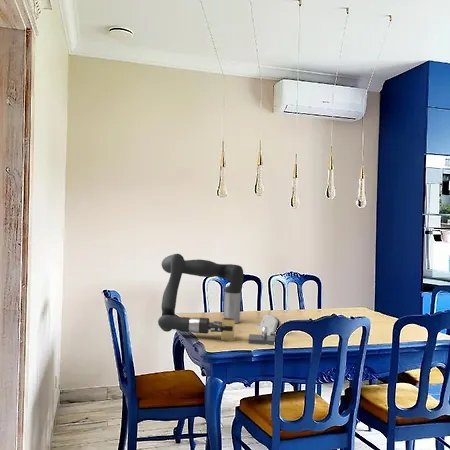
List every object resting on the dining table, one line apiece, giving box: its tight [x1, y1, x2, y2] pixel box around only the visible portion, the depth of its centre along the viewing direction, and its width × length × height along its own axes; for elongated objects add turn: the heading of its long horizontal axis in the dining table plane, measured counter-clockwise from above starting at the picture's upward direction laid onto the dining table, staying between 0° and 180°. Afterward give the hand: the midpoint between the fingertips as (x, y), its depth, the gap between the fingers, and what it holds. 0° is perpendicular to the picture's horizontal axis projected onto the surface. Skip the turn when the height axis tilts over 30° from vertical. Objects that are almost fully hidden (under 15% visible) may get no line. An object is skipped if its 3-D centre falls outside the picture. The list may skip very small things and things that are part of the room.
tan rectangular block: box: [220, 316, 236, 342], centre depth 233 cm, size 6×6×10 cm
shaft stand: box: [248, 327, 276, 346], centre depth 231 cm, size 11×15×7 cm
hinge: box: [256, 314, 283, 335], centre depth 253 cm, size 17×5×10 cm, turn 21°
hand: (232, 327), depth 233 cm, fingers closed on tan rectangular block, 6 cm apart
